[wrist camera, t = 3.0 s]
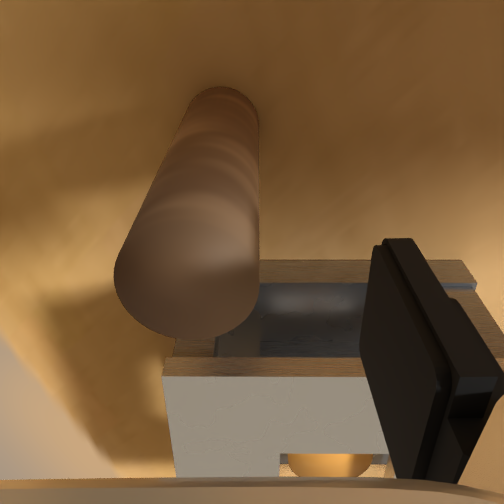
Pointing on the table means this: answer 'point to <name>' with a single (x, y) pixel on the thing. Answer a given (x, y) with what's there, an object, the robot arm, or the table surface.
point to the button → (329, 464)
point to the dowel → (198, 226)
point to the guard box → (291, 373)
